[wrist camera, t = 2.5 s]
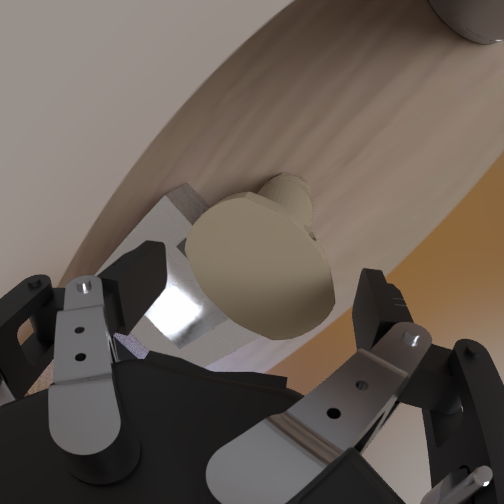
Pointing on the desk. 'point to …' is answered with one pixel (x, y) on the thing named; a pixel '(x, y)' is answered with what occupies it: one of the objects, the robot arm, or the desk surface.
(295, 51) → the desk surface
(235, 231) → the handle
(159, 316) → the socket block
